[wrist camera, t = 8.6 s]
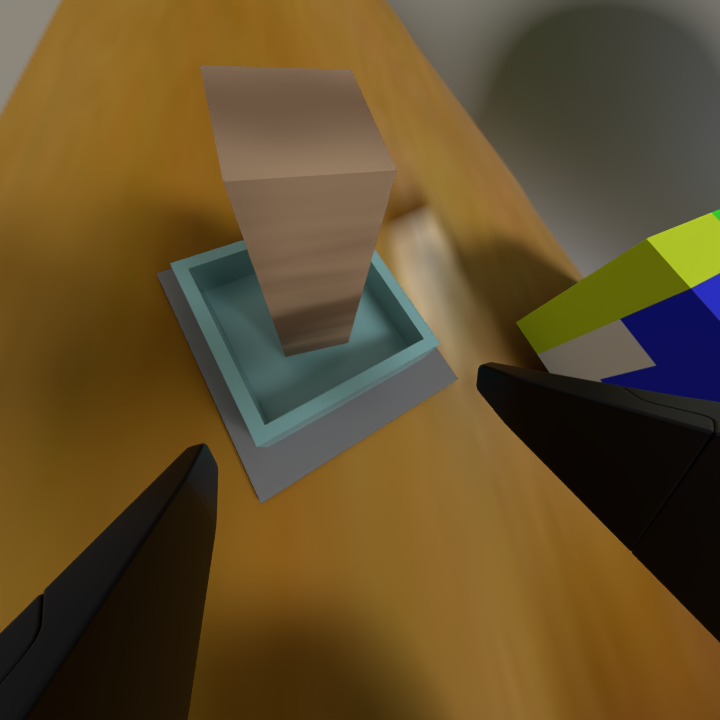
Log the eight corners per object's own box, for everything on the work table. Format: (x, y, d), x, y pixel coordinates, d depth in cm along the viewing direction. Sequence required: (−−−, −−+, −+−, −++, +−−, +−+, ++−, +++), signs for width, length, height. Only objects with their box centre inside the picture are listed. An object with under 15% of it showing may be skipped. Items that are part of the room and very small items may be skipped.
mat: (455, 380, 21) (458, 378, 20) (262, 502, 16) (261, 503, 16) (342, 216, 24) (343, 212, 24) (159, 276, 20) (156, 273, 19)
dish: (421, 359, 20) (440, 343, 17) (268, 447, 17) (256, 446, 13) (341, 240, 23) (345, 207, 20) (193, 293, 19) (170, 263, 16)
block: (348, 342, 19) (396, 170, 7) (285, 356, 18) (222, 181, 6) (332, 290, 20) (351, 70, 8) (272, 300, 19) (200, 65, 7)
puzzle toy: (584, 426, 21) (797, 407, 12) (515, 322, 23) (646, 238, 14) (656, 378, 24) (876, 333, 14) (587, 290, 26) (738, 201, 17)
